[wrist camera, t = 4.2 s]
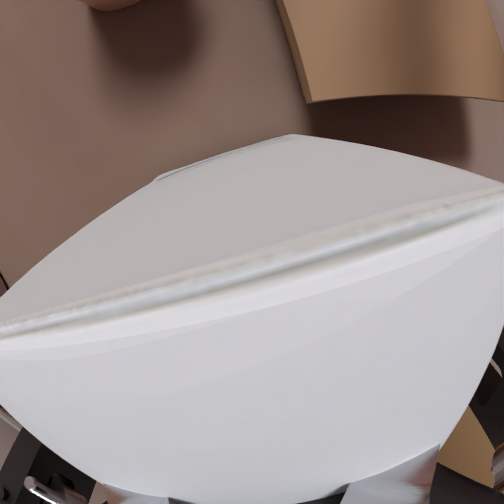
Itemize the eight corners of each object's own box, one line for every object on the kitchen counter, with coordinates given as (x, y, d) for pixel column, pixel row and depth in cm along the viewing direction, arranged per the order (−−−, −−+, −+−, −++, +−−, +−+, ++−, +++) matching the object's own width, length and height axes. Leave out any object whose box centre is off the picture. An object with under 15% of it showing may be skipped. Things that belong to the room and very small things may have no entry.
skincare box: (343, 326, 15) (400, 506, 5) (232, 352, 15) (221, 533, 6) (302, 127, 10) (569, 190, 1) (154, 175, 11) (-59, 348, 2)
